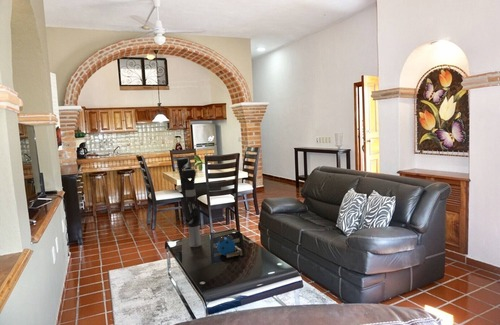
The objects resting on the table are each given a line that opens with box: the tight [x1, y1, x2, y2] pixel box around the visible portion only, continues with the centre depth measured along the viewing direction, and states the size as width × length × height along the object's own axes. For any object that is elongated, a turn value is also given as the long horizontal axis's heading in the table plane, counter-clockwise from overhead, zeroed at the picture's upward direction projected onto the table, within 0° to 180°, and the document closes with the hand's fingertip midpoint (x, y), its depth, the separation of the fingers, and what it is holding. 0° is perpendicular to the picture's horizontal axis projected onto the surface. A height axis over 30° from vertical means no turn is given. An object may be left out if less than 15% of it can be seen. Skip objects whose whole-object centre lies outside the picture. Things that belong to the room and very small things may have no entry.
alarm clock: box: [216, 234, 236, 257], centre depth 276 cm, size 13×6×15 cm, turn 114°
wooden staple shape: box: [225, 244, 243, 259], centre depth 278 cm, size 16×12×4 cm
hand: (192, 217), depth 276 cm, fingers closed
